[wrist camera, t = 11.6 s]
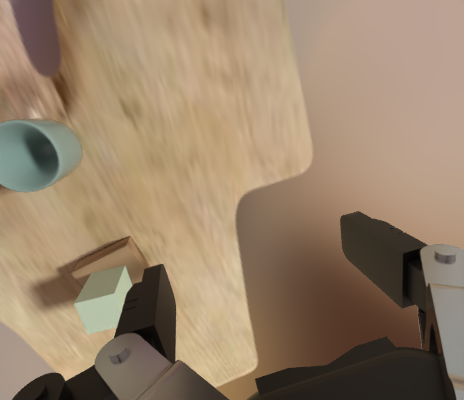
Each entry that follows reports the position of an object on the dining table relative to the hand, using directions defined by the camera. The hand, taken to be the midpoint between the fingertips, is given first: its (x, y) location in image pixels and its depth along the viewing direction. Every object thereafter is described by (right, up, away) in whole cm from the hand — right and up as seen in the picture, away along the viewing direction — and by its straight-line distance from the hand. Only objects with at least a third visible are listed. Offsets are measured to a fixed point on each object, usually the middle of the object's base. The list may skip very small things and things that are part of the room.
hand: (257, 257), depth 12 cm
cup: (-25, +10, +27) cm, 38 cm away
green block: (-19, -10, +30) cm, 37 cm away
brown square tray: (-20, -9, +34) cm, 40 cm away
